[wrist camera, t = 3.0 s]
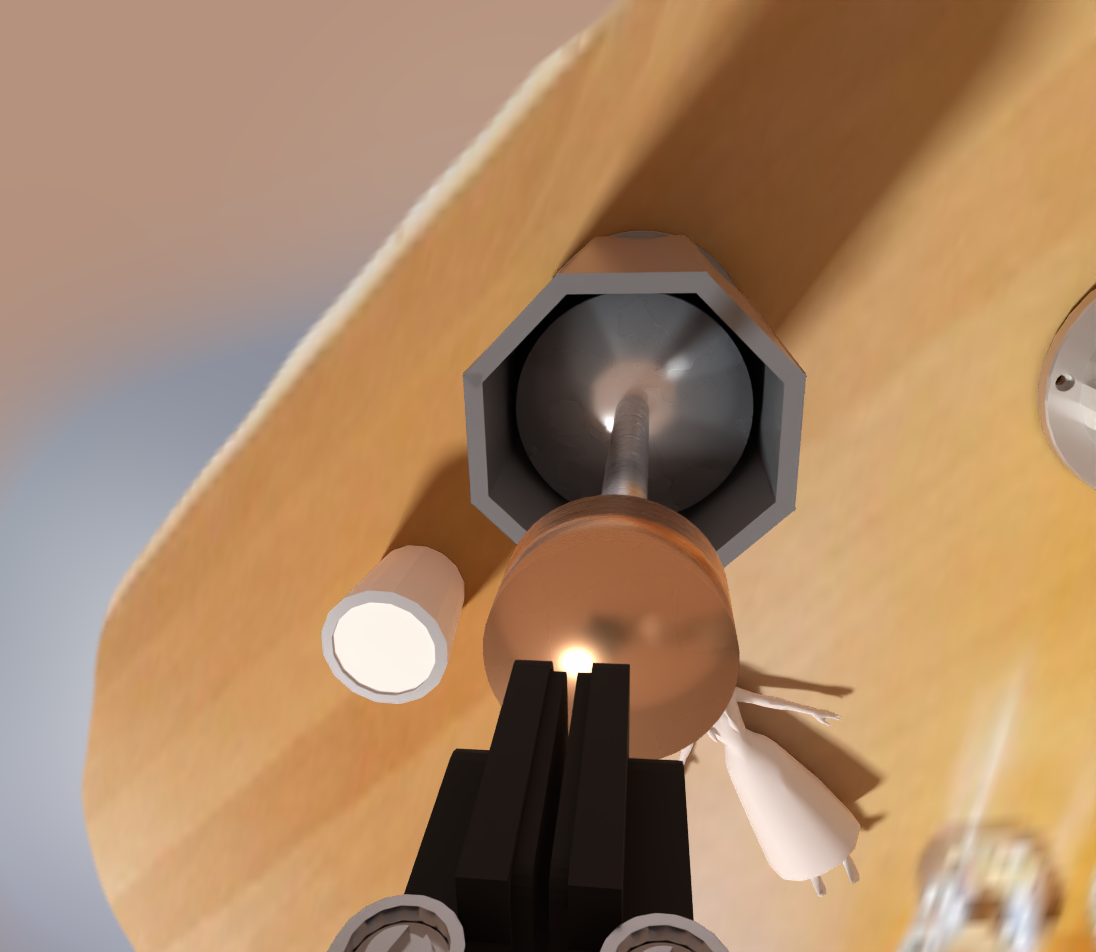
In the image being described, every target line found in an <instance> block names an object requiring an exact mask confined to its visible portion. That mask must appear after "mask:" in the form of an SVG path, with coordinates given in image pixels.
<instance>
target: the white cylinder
mask: <svg viewBox="0 0 1096 952" xmlns="http://www.w3.org/2000/svg"><path fill="white" fill-rule="evenodd" d="M463 603H464V581H463V579H462V577H461V575H460V573H459V570H458V568H457V566H456V565H454V564H453V563H452V562H451V561H450V560H449V559H448V558H447V557H446V556H445V555H444V554H443V553H440V552H438V551H436V550H434V549H431V548H429V547H427V546H413V545H407V546H404V547H401V548H398V549H395V550H392V551H391V552H390V553H389V554H388V555H387V556H386V557H384V558H383V559H382V560H381V561H380V562H379V563H378V564H377V565H376V566H375V567H374V568H373V569H372V570H371V571H370V572H369V573H368V574H367V575H366V576H365V577H364V578H363V579H362V580H361V581H360V582H359V583H358V584H357V585H356V586H355V587H354V588H353V589H352V590H351V591H350V592H349V593H348V594H347V595H346V596H345V597H344V598H343V599H342V600H341V601H340V602H339V603H338V604H337V605H336V606H335V607H334V608H333V609H332V610H331V611H330V612H329V613H328V616H327V618H326V621H325V624H324V626H323V629H322V632H321V637H322V647H323V655H324V657H325V659H326V661H327V663H328V665H329V666H330V668H331V670H332V672H333V674H334V676H335V677H337V678H338V679H339V680H340V681H341V682H342V683H343V684H344V685H346V686H347V687H348V688H349V689H350V690H351V691H352V692H354V693H356V694H359V695H361V696H363V697H365V698H368V699H370V700H372V701H375V702H383V703H394V704H401V703H405V702H409V701H412V700H416V699H419V698H422V697H423V696H425V695H426V694H427V693H428V692H430V691H431V690H432V689H433V688H434V687H436V686H437V685H438V684H439V682H440V680H441V678H442V675H443V673H444V671H445V669H446V667H447V664H448V660H449V657H450V653H451V649H452V645H453V641H454V637H455V633H456V630H457V626H458V622H459V618H460V614H461V610H462V606H463Z"/></svg>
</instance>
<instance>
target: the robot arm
mask: <svg viewBox="0 0 1096 952" xmlns="http://www.w3.org/2000/svg"><path fill="white" fill-rule="evenodd" d="M1059 376H1061V377H1062V378H1061V380H1060V381H1059V382H1058V383H1055V382H1056V380H1057V378H1058V377H1059ZM1038 411H1039V416H1040V421H1041V426H1042V430H1043V432H1044V435H1045V437H1046V439H1047V441H1048V443H1049V446H1050V448H1051V450H1052V451H1053V452H1054V453H1055V455H1056V456H1057V457H1058V459H1059V460H1060V461H1061V463H1062V464H1063V465H1064V466H1065V467H1066V468H1067V469H1068V470H1070V471H1071V472H1072V473H1073V474H1074V475H1076V476H1077V477H1078V478H1079V479H1081V480H1082V481H1083V482H1085V483H1086V484H1088V485H1089V486H1091V487H1092V488H1094V489H1096V288H1095V289H1094V290H1093V291H1092V292H1090V293H1089V294H1088V295H1087V296H1086V297H1085V298H1084V299H1083V300H1082V302H1081V303H1080V304H1079V305H1078V306H1077V307H1076V308H1075V309H1074V310H1073V311H1072V312H1071V313H1070V314H1069V316H1068V317H1067V319H1066V320H1065V322H1064V323H1063V325H1062V326H1061V328H1060V329H1059V331H1058V332H1057V334H1056V335H1055V337H1054V339H1053V341H1052V343H1051V346H1050V348H1049V350H1048V352H1047V355H1046V357H1045V359H1044V362H1043V367H1042V371H1041V375H1040V379H1039V384H1038ZM629 726H630V664H614V663H593V664H592V672H591V673H587V672H578V674H577V680H576V687H575V694H574V701H573V709H572V716H571V723H570V730H569V735H568V687H567V672H563V671H554V666H553V662H552V661H541V660H515V661H514V664H513V667H512V671H511V675H510V678H509V682H508V686H507V689H506V693H505V696H504V700H503V704H502V707H501V711H500V715H499V718H498V722H497V726H496V729H495V733H494V736H493V740H492V744H491V747H490V750H473V749H456V750H454V751H453V753H452V756H451V758H450V761H449V763H448V766H447V769H446V772H445V775H444V778H443V781H442V784H441V787H440V790H439V793H438V796H437V799H436V802H435V805H434V808H433V811H432V813H431V816H430V819H429V822H428V825H427V828H426V831H425V834H424V837H423V840H422V843H421V846H420V849H419V852H418V855H417V858H416V861H415V863H414V866H413V869H412V872H411V875H410V878H409V881H408V884H407V887H406V890H405V893H404V895H398V896H393V897H388V898H384V899H382V900H379V901H377V902H375V903H373V904H371V905H368V906H366V907H365V908H363V909H362V910H361V911H360V912H358V913H357V914H356V915H354V916H353V917H352V918H350V919H349V920H348V922H347V923H346V924H345V926H344V927H343V928H342V929H341V931H340V932H339V933H338V934H337V936H336V937H335V939H334V941H333V943H332V944H331V946H330V948H329V949H328V951H327V952H729V951H728V949H727V948H726V947H725V946H724V945H723V944H722V942H721V941H720V940H719V939H718V938H717V937H716V936H715V934H714V933H712V932H711V931H709V930H708V929H706V928H705V927H703V926H702V925H700V924H699V923H697V922H695V921H694V920H693V904H692V888H691V872H690V856H689V840H688V824H687V808H686V792H685V776H684V764H683V761H677V760H658V759H640V758H629Z"/></svg>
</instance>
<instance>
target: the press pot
mask: <svg viewBox="0 0 1096 952" xmlns="http://www.w3.org/2000/svg"><path fill="white" fill-rule="evenodd" d="M641 293H667V294H670V295H673V296H676V297H679V298H682V299H684V300H686V301H688V302H690V303H692V304H694V305H696V306H697V307H699V308H700V309H702V310H703V311H705V312H706V313H708V314H709V315H710V316H711V317H712V318H713V319H714V320H716V321H717V322H718V323H719V324H720V325H721V326H722V327H723V329H724V330H725V331H726V332H727V333H728V334H729V336H730V337H731V339H732V340H733V342H734V343H735V345H736V347H737V348H738V350H739V352H740V354H741V356H742V358H743V361H744V363H745V365H746V367H747V371H748V374H749V377H750V381H751V387H752V394H753V417H752V425H751V430H750V433H749V437H748V441H747V443H746V446H745V448H744V450H743V453H742V455H741V457H740V459H739V460H738V462H737V464H736V465H735V467H734V469H733V470H732V471H731V473H730V474H729V475H728V476H727V478H726V479H725V480H724V481H723V482H722V483H721V484H720V485H719V486H718V487H717V488H716V489H715V490H714V491H713V492H712V493H710V494H709V495H708V496H706V497H705V498H704V499H702V500H701V501H699V502H697V503H696V504H694V505H692V506H690V507H688V508H686V509H684V510H681V511H679V512H677V513H679V514H681V515H682V516H684V517H685V518H687V519H688V520H689V521H690V522H691V523H693V524H694V525H695V526H696V527H697V528H698V529H699V530H700V531H701V532H702V533H703V534H704V535H705V536H706V538H707V539H708V540H709V542H710V543H711V545H712V546H713V547H714V549H715V550H716V552H717V554H718V556H719V558H720V561H721V563H722V565H723V568H724V567H726V566H727V565H728V564H729V563H730V562H732V561H733V560H734V559H735V558H737V557H738V556H739V555H740V554H741V553H743V552H744V551H745V550H746V549H748V548H749V547H750V546H751V545H752V544H754V543H755V542H756V541H757V540H759V539H760V538H761V537H762V536H763V535H765V534H766V533H767V532H768V531H770V530H771V529H772V528H773V527H774V526H776V525H777V524H778V523H779V522H781V521H782V520H783V519H784V518H785V517H787V516H788V515H789V514H790V513H792V512H793V511H795V509H796V508H795V502H796V490H797V477H798V465H799V453H800V441H801V429H802V417H803V405H804V393H805V381H806V377H807V376H806V373H805V372H804V371H803V369H802V368H801V367H800V366H799V364H798V363H797V362H796V360H795V359H794V358H793V357H792V355H791V354H790V353H789V351H788V350H787V349H786V348H785V346H784V345H783V344H782V342H781V341H780V340H779V339H778V337H777V336H776V335H775V333H774V332H773V331H772V330H771V328H770V327H769V326H768V324H767V323H766V322H765V321H764V319H763V318H762V317H761V316H760V314H759V313H758V312H757V310H756V309H755V308H754V307H753V305H752V304H751V303H750V301H749V300H748V299H747V298H745V296H744V295H743V294H742V293H741V292H740V291H739V290H738V289H737V288H736V286H735V285H734V283H733V281H732V280H731V278H730V277H729V275H728V274H727V272H726V271H725V270H724V269H723V268H722V266H721V265H720V264H719V263H718V262H717V261H716V260H715V259H714V258H713V257H712V256H711V255H710V254H709V253H707V252H706V251H705V250H703V249H702V248H700V247H699V246H697V245H696V244H694V243H693V242H692V241H691V240H690V239H689V238H688V237H687V235H685V234H684V235H672V234H669V233H664V232H659V231H650V230H636V231H626V232H621V233H617V234H612V235H610V236H603V237H597V236H596V237H594V238H593V239H592V240H591V241H590V242H589V243H588V244H587V245H586V246H585V247H584V248H583V249H581V250H580V251H579V252H578V253H576V254H575V255H574V256H573V257H572V258H571V259H570V260H569V261H568V262H566V263H565V264H564V265H563V266H562V267H561V269H560V270H559V271H558V272H557V273H556V275H555V276H554V277H553V279H552V280H551V281H550V282H549V284H548V285H547V286H546V287H545V288H544V289H543V290H542V291H541V292H540V293H539V294H538V295H537V296H536V297H535V298H534V300H533V301H532V302H531V303H530V304H529V305H528V306H527V307H526V308H525V309H524V310H523V311H522V312H521V313H520V314H519V316H518V317H517V318H516V319H515V320H514V321H513V322H512V323H511V324H510V325H509V326H508V327H507V328H506V329H505V331H504V332H503V333H502V334H501V335H500V336H499V337H498V338H497V339H496V340H495V341H494V342H493V343H492V344H491V345H490V347H489V348H488V349H487V350H486V351H485V352H484V353H483V354H482V355H481V356H480V357H479V358H478V359H477V360H476V361H475V362H474V363H473V364H472V365H471V366H470V367H469V368H468V369H467V370H466V371H465V372H464V373H463V375H462V376H463V383H464V399H465V415H466V431H467V447H468V463H469V479H470V495H471V501H470V502H471V504H473V505H474V506H475V507H476V508H477V509H478V510H479V511H480V512H482V513H483V514H484V515H485V516H486V517H487V518H488V519H489V520H490V521H491V522H492V523H494V524H495V525H496V526H497V527H498V528H499V529H500V530H501V531H502V532H503V533H504V534H506V535H507V536H508V537H509V538H510V539H511V540H512V541H513V542H514V543H515V544H516V545H517V544H518V543H519V541H520V540H521V538H522V537H523V535H524V534H525V533H526V532H527V531H528V530H529V529H530V528H531V526H532V525H533V524H534V523H536V522H537V521H538V520H539V519H540V518H542V517H543V516H544V515H546V514H547V513H549V512H550V511H552V510H554V509H555V508H557V507H559V506H562V505H564V504H566V503H568V502H570V501H568V500H567V499H565V498H564V497H562V496H561V495H560V494H559V493H557V492H556V491H555V490H554V489H553V488H551V486H550V485H549V484H548V483H547V482H546V481H545V480H544V479H543V478H542V477H541V475H540V474H539V473H538V471H537V470H536V469H535V467H534V466H533V464H532V462H531V460H530V459H529V457H528V455H527V453H526V451H525V448H524V445H523V443H522V440H521V437H520V433H519V429H518V424H517V415H516V395H517V389H518V383H519V379H520V375H521V372H522V369H523V366H524V364H525V362H526V359H527V357H528V355H529V353H530V351H531V350H532V348H533V347H534V345H535V343H536V342H537V340H538V339H539V337H540V336H541V335H542V334H543V333H544V331H545V330H546V329H547V328H548V327H549V325H551V324H552V323H553V322H554V321H555V320H556V319H557V318H558V317H559V316H560V315H562V314H563V313H565V312H566V311H567V310H569V309H570V308H572V307H573V306H575V305H577V304H579V303H581V302H583V301H585V300H587V299H589V298H592V297H595V296H597V295H600V294H641Z"/></svg>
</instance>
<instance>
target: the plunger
mask: <svg viewBox="0 0 1096 952" xmlns="http://www.w3.org/2000/svg"><path fill="white" fill-rule="evenodd" d="M516 415H517V424H518V429H519V433H520V437H521V440H522V443H523V445H524V448H525V451H526V453H527V455H528V457H529V459H530V460H531V462H532V464H533V466H534V467H535V469H536V470H537V471H538V473H539V474H540V475H541V477H542V478H543V479H544V480H545V481H546V482H547V483H548V484H549V485H550V486H551V488H553V489H554V490H555V491H556V492H557V493H559V494H560V495H561V496H562V497H564V498H565V499H567V500H568V501H570V502H568V503H566V504H564V505H562V506H559V507H557V508H555V509H554V510H552V511H550V512H549V513H547V514H546V515H544V516H543V517H542V518H540V519H539V520H538V521H537V522H536V523H534V524H533V525H532V526H531V528H530V529H529V530H528V531H527V532H526V533H525V534H524V535H523V537H522V538H521V540H520V541H519V543H518V544H517V546H516V548H515V550H514V552H513V554H512V556H511V558H510V561H509V563H508V566H507V569H506V571H505V574H504V577H503V579H502V582H501V585H500V587H499V590H498V592H497V595H496V598H495V600H494V603H493V606H492V608H491V611H490V614H489V617H488V620H487V623H486V626H485V632H484V638H483V657H484V665H485V670H486V674H487V677H488V681H489V683H490V686H491V688H492V690H493V692H494V695H495V697H496V698H497V700H498V701H499V703H500V705H501V706H502V704H503V700H504V696H505V693H506V689H507V686H508V682H509V678H510V675H511V671H512V667H513V664H514V661H515V660H541V661H552V662H553V666H554V671H563V672H567V687H568V735H569V730H570V723H571V716H572V709H573V701H574V694H575V687H576V680H577V674H578V672H587V673H591V672H592V664H593V663H614V664H630V726H629V758H640V759H660V758H663V757H666V756H669V755H672V754H674V753H676V752H678V751H680V750H682V749H684V748H686V747H687V746H689V745H690V744H692V743H694V742H695V741H697V740H698V739H699V738H700V737H702V736H703V735H704V734H705V733H706V732H708V731H709V730H710V729H711V727H712V726H713V725H714V724H715V723H716V722H717V721H718V720H719V718H720V717H721V715H722V714H723V712H724V711H725V709H726V708H727V706H728V704H729V702H730V700H731V698H732V696H733V693H734V690H735V687H736V683H737V680H738V673H739V646H738V640H737V635H736V629H735V623H734V618H733V612H732V607H731V601H730V596H729V590H728V585H727V579H726V575H725V572H724V568H723V565H722V563H721V561H720V558H719V556H718V554H717V552H716V550H715V549H714V547H713V546H712V545H711V543H710V542H709V540H708V539H707V538H706V536H705V535H704V534H703V533H702V532H701V531H700V530H699V529H698V528H697V527H696V526H695V525H694V524H693V523H691V522H690V521H689V520H688V519H687V518H685V517H684V516H682V515H681V514H679V513H677V512H679V511H681V510H684V509H686V508H688V507H690V506H692V505H694V504H696V503H697V502H699V501H701V500H702V499H704V498H705V497H706V496H708V495H709V494H710V493H712V492H713V491H714V490H715V489H716V488H717V487H718V486H719V485H720V484H721V483H722V482H723V481H724V480H725V479H726V478H727V476H728V475H729V474H730V473H731V471H732V470H733V469H734V467H735V465H736V464H737V462H738V460H739V459H740V457H741V455H742V453H743V450H744V448H745V446H746V443H747V441H748V437H749V433H750V430H751V425H752V417H753V394H752V387H751V381H750V377H749V374H748V371H747V367H746V365H745V363H744V361H743V358H742V356H741V354H740V352H739V350H738V348H737V347H736V345H735V343H734V342H733V340H732V339H731V337H730V336H729V334H728V333H727V332H726V331H725V330H724V329H723V327H722V326H721V325H720V324H719V323H718V322H717V321H716V320H714V319H713V318H712V317H711V316H710V315H709V314H708V313H706V312H705V311H703V310H702V309H700V308H699V307H697V306H696V305H694V304H692V303H690V302H688V301H686V300H684V299H682V298H679V297H676V296H673V295H670V294H667V293H641V294H600V295H597V296H595V297H592V298H589V299H587V300H585V301H583V302H581V303H579V304H577V305H575V306H573V307H572V308H570V309H569V310H567V311H566V312H565V313H563V314H562V315H560V316H559V317H558V318H557V319H556V320H555V321H554V322H553V323H552V324H551V325H549V327H548V328H547V329H546V330H545V331H544V333H543V334H542V335H541V336H540V337H539V339H538V340H537V342H536V343H535V345H534V347H533V348H532V350H531V351H530V353H529V355H528V357H527V359H526V362H525V364H524V366H523V369H522V372H521V375H520V379H519V383H518V389H517V395H516Z"/></svg>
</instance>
